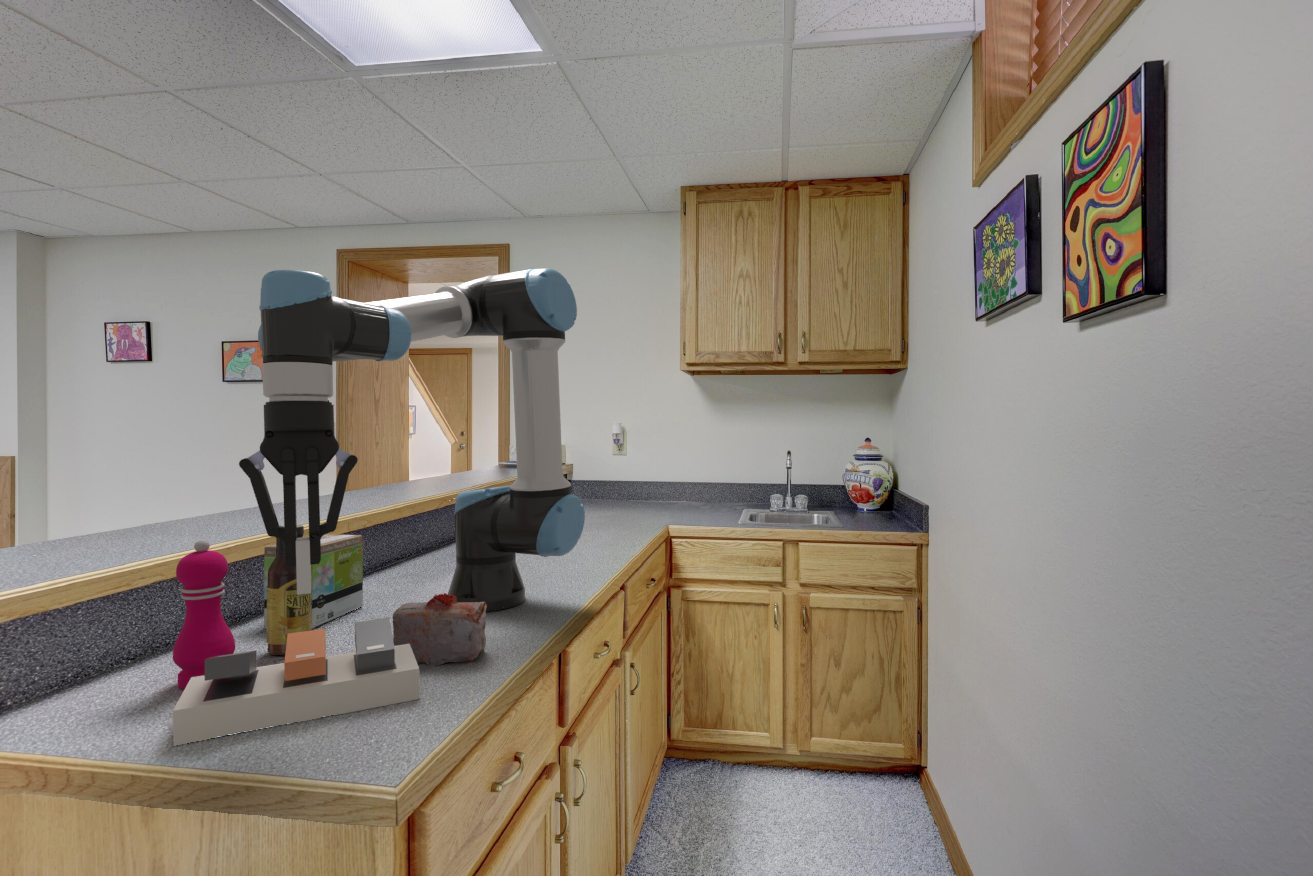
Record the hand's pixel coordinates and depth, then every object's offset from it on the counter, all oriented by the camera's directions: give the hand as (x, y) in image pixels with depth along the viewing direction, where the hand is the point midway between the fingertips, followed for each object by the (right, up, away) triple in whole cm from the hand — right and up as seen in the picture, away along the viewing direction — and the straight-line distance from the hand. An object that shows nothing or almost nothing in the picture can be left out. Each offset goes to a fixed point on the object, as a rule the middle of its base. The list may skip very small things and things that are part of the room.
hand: (304, 591), depth 80 cm
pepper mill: (-20, -16, +11) cm, 28 cm away
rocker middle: (-2, -10, +3) cm, 11 cm away
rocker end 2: (+5, -10, +7) cm, 13 cm away
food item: (+11, -15, +19) cm, 27 cm away
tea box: (-21, -15, +42) cm, 49 cm away
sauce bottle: (-15, -15, +24) cm, 32 cm away
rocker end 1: (-8, -10, -1) cm, 13 cm away
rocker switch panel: (-1, -15, +3) cm, 16 cm away
